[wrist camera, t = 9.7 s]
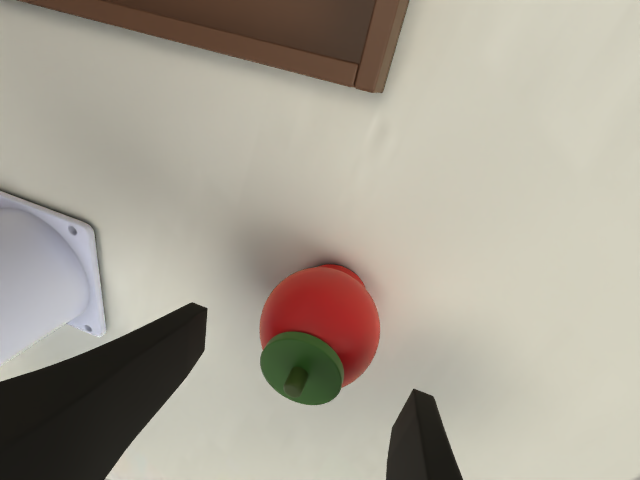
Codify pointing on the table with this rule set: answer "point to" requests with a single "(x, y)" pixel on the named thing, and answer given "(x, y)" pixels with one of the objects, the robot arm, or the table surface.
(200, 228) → the table surface
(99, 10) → the tray
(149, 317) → the table surface
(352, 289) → the tomato
